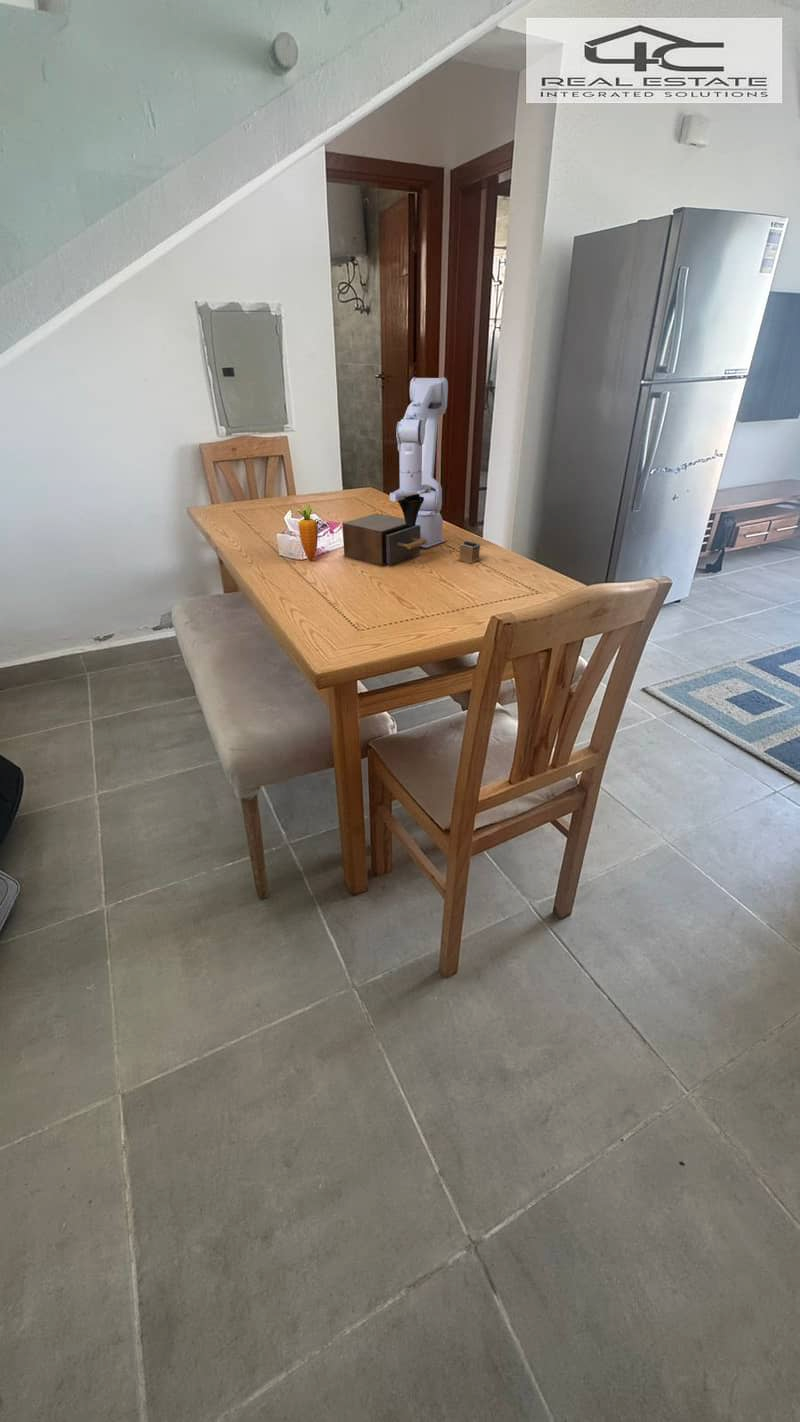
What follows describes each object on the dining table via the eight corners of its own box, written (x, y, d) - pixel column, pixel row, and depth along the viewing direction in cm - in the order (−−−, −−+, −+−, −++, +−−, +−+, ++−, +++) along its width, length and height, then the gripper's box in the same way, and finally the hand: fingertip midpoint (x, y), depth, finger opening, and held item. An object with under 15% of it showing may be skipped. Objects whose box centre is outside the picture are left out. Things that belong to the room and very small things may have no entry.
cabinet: (415, 554, 173) (415, 520, 168) (382, 566, 164) (381, 531, 159) (377, 545, 181) (377, 513, 176) (344, 556, 172) (342, 522, 167)
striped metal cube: (467, 557, 170) (468, 539, 168) (479, 560, 168) (480, 542, 165) (459, 560, 168) (460, 542, 165) (471, 563, 165) (472, 545, 163)
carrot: (311, 564, 165) (306, 508, 157) (298, 561, 168) (292, 506, 160) (323, 560, 169) (319, 504, 161) (310, 557, 171) (306, 502, 163)
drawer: (433, 556, 168) (434, 528, 164) (403, 567, 160) (403, 538, 156) (384, 544, 178) (384, 518, 174) (353, 555, 170) (352, 527, 166)
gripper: (404, 477, 147) (404, 533, 154) (440, 468, 156) (438, 522, 163) (383, 473, 151) (384, 528, 158) (418, 465, 160) (418, 518, 167)
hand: (410, 525), depth 161 cm, fingers closed
